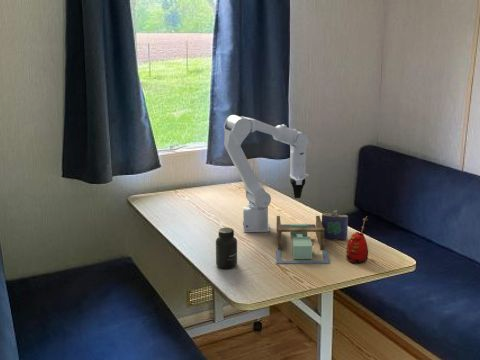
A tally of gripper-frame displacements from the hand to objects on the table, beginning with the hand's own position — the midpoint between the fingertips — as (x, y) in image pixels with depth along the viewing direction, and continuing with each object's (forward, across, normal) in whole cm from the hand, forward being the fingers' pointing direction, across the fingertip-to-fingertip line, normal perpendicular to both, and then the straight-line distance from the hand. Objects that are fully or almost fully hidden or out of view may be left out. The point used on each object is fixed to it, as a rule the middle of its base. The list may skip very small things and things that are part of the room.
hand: (297, 197), depth 205 cm
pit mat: (+10, -6, 0) cm, 12 cm away
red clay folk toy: (+10, -35, -17) cm, 40 cm away
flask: (+10, -17, -12) cm, 23 cm away
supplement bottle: (+10, -39, +25) cm, 47 cm away
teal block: (+10, -25, +1) cm, 27 cm away
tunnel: (+10, -19, 0) cm, 21 cm away
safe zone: (+10, -32, 0) cm, 34 cm away
